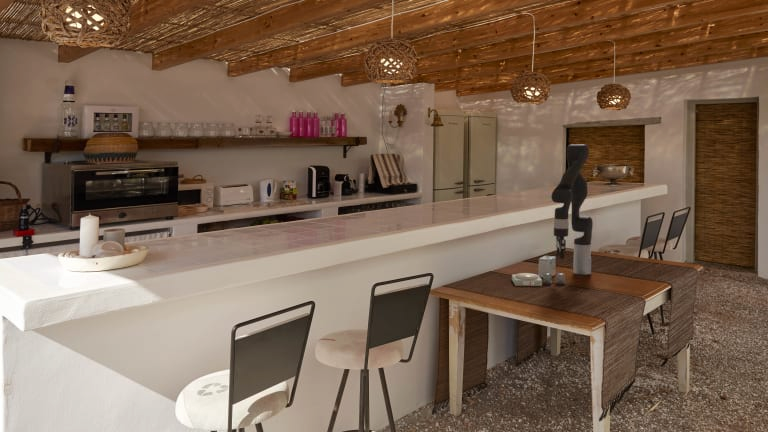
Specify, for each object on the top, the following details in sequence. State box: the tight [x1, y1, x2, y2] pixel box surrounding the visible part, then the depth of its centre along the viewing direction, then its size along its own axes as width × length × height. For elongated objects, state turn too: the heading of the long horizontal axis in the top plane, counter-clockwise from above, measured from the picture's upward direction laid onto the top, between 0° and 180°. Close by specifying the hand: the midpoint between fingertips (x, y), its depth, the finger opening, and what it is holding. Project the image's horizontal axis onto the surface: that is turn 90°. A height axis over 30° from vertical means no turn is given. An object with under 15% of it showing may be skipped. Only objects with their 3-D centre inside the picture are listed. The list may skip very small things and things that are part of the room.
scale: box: [511, 272, 543, 287], centre depth 319 cm, size 14×14×4 cm
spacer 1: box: [542, 273, 553, 285], centre depth 318 cm, size 4×4×5 cm
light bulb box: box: [538, 255, 557, 278], centre depth 335 cm, size 11×7×11 cm, turn 146°
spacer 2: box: [555, 272, 566, 285], centre depth 318 cm, size 4×4×5 cm
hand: (560, 257), depth 316 cm, fingers open, 8 cm apart
